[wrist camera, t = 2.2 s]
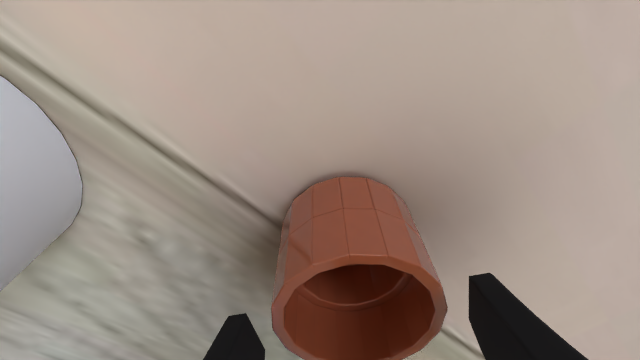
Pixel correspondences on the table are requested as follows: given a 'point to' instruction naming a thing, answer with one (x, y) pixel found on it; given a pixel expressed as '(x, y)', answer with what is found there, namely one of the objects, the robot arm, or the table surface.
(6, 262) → the cylinder with rectangular tab
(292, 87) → the table surface
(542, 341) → the robot arm
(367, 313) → the pot
